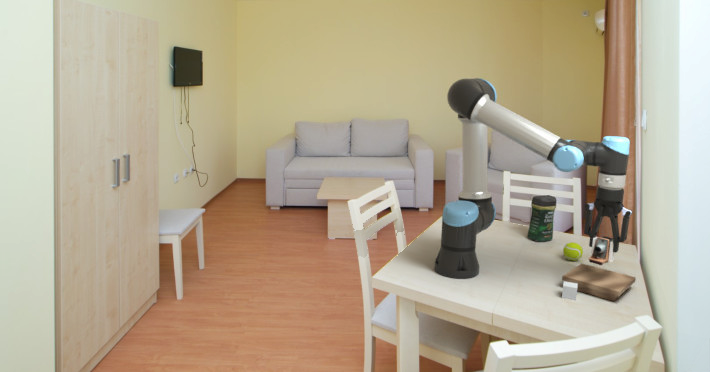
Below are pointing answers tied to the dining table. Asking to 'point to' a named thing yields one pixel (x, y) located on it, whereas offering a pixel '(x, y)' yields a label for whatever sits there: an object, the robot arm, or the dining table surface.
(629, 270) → the dining table surface
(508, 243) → the dining table surface
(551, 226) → the coffee jar
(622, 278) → the stand
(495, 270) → the dining table surface
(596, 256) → the electronic device
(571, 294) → the grey block
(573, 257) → the tennis ball
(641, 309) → the dining table surface
